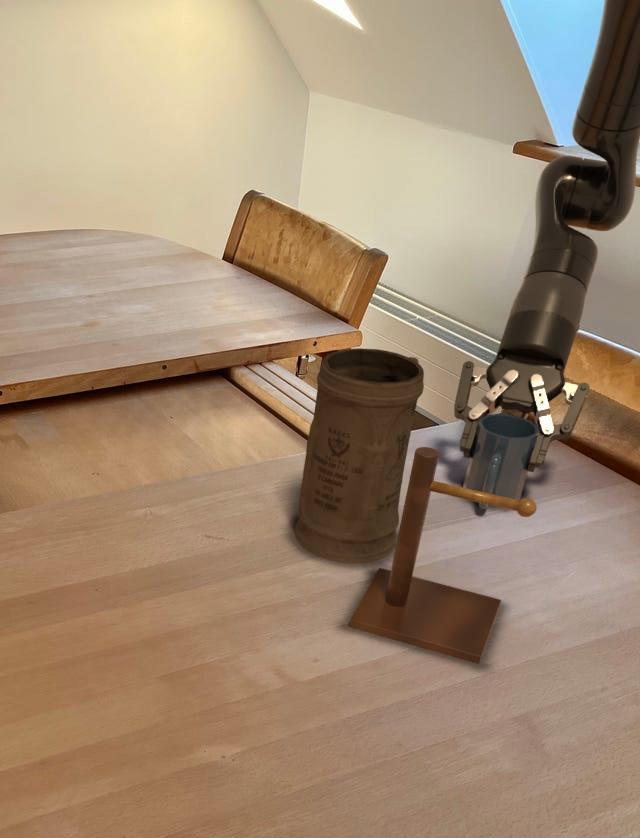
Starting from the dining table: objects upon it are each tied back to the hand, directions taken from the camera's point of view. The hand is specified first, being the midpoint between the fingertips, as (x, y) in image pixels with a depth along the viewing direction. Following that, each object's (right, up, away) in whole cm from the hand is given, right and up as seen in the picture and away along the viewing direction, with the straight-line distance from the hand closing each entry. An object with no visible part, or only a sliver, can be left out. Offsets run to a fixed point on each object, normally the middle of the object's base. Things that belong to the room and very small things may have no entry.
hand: (498, 461), depth 107 cm
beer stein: (-17, -8, -2) cm, 19 cm away
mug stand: (-12, -18, -16) cm, 27 cm away
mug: (0, -4, +3) cm, 5 cm away
